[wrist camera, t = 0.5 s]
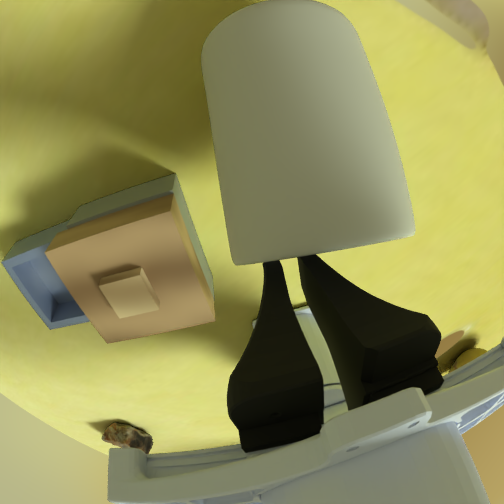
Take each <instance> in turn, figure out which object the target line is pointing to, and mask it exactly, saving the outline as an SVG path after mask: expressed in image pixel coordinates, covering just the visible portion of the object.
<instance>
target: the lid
mask: <svg viewBox="0 0 504 504" xmlns="http://www.w3.org/2000/svg"><path fill="white" fill-rule="evenodd" d="M45 254H46V256H47V258H48V259H49V261H50V263H51V264H52V266H53V268H54V269H55V271H56V272H57V274H58V276H59V277H60V279H61V280H62V282H63V283H64V285H65V286H66V288H67V289H68V291H69V292H70V294H71V295H72V297H73V298H74V300H75V301H76V302H77V304H78V305H79V307H80V308H81V309H82V311H83V312H84V314H85V315H86V316H87V318H88V319H89V320H90V322H91V323H92V324H93V326H94V327H95V328H96V330H97V331H98V332H99V334H100V335H101V336H102V337H103V339H104V340H105V341H106V343H113V342H118V341H124V340H129V339H134V338H139V337H144V336H149V335H154V334H159V333H164V332H169V331H173V330H178V329H183V328H187V327H192V326H196V325H201V324H205V323H209V322H214V321H215V309H214V298H213V296H212V293H211V291H210V288H209V286H208V283H207V281H206V278H205V276H204V273H203V271H202V268H201V265H200V263H199V260H198V258H197V255H196V253H195V250H194V247H193V245H192V242H191V239H190V237H189V234H188V231H187V229H186V226H185V223H184V221H183V218H182V215H181V212H180V210H179V207H178V204H177V201H176V198H175V196H174V193H173V194H170V195H167V196H163V197H160V198H157V199H154V200H151V201H147V202H144V203H141V204H138V205H135V206H132V207H129V208H126V209H123V210H120V211H117V212H114V213H111V214H108V215H105V216H102V217H99V218H97V219H94V220H91V221H88V222H85V223H83V224H80V225H77V226H75V227H72V228H69V229H67V230H64V231H61V232H59V233H57V234H56V235H55V237H54V239H53V240H52V242H51V243H50V245H49V246H48V248H47V249H46V251H45Z"/></svg>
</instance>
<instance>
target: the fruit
mask: <svg viewBox="0 0 504 504" xmlns="http://www.w3.org/2000/svg"><path fill="white" fill-rule="evenodd" d="M486 352H487V351H486V350H484V349H480V348H473V349H469V350H467V351H465V352H463V353H462V354H461V355H460V356H459V357H458V358H457V359H456V361H455V363H454V364H453V366H452V367H451V369H450V371H449V373H450V372H452V371H454V370H456V369H458V368H460V367H462V366H463V365H465V364H467V363H469V362H471V361H472V360H474V359H476V358H477V357H479V356H481V355H483V354H484V353H486Z"/></svg>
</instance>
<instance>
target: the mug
mask: <svg viewBox="0 0 504 504" xmlns="http://www.w3.org/2000/svg"><path fill="white" fill-rule="evenodd" d="M201 67H202V74H203V80H204V86H205V91H206V97H207V104H208V110H209V117H210V124H211V131H212V138H213V144H214V151H215V158H216V164H217V171H218V178H219V184H220V190H221V197H222V203H223V209H224V216H225V222H226V228H227V234H228V240H229V246H230V252H231V257H232V260H233V263H234V264H235V265H248V264H255V263H262V262H269V261H276V260H282V259H289V258H295V257H301V256H307V255H313V254H319V253H325V252H331V251H337V250H343V249H349V248H354V247H360V246H365V245H371V244H376V243H381V242H386V241H391V240H396V239H401V238H406V237H410V236H413V235H414V234H415V222H414V215H413V210H412V205H411V200H410V195H409V191H408V186H407V182H406V178H405V173H404V169H403V165H402V161H401V158H400V154H399V150H398V147H397V143H396V139H395V136H394V133H393V129H392V126H391V123H390V120H389V117H388V113H387V110H386V107H385V104H384V102H383V99H382V96H381V93H380V90H379V87H378V85H377V82H376V79H375V77H374V74H373V71H372V69H371V66H370V64H369V61H368V58H367V56H366V53H365V51H364V48H363V45H362V43H361V41H360V38H359V36H358V34H357V32H356V30H355V28H354V26H353V25H352V23H351V22H350V21H349V20H348V19H347V18H346V17H345V16H344V15H343V14H342V13H341V12H339V11H338V10H336V9H335V8H333V7H331V6H328V5H326V4H323V3H320V2H317V1H313V0H267V1H263V2H259V3H255V4H252V5H250V6H247V7H244V8H242V9H240V10H238V11H236V12H234V13H233V14H231V15H229V16H228V17H226V18H225V19H224V20H223V21H221V22H220V23H219V24H218V25H217V26H216V27H215V28H214V29H213V30H212V31H211V32H210V34H209V35H208V37H207V38H206V40H205V43H204V45H203V49H202V53H201Z"/></svg>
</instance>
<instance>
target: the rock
mask: <svg viewBox="0 0 504 504" xmlns="http://www.w3.org/2000/svg"><path fill="white" fill-rule="evenodd" d="M102 440H103V441H105V442H108V443H112V444H113V445H116V446H119V447H121V448H137V449H140V450H142V451H143V452H144V453H145V454H149V451H150V449H151V448H152V445H153V442H152V440H153V439H152V436H151V435H150V434H147V433H144V432H143V431H141V430H138V429H136V428H134V427H131V426H130V425H128V424H120V423H117V422H116V423H113V424H111V425H110V426H109V427H107V429H106V430H105V431H104V434H103V435H102Z"/></svg>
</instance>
